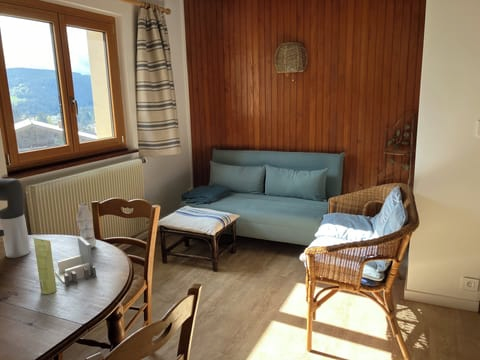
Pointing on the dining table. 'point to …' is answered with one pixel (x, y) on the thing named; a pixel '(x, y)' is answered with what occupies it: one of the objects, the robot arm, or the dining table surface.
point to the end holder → (76, 262)
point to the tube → (45, 265)
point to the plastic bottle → (86, 224)
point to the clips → (74, 278)
